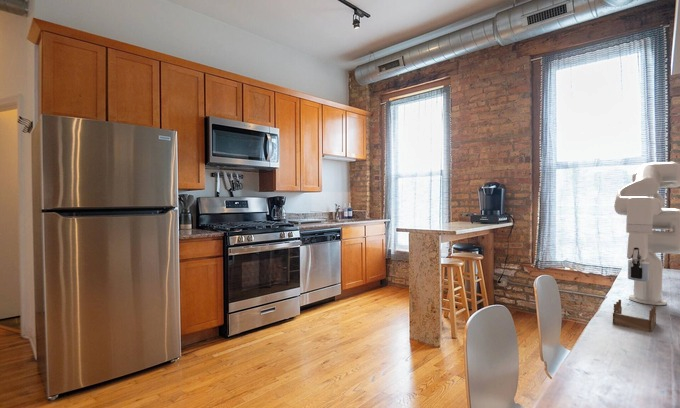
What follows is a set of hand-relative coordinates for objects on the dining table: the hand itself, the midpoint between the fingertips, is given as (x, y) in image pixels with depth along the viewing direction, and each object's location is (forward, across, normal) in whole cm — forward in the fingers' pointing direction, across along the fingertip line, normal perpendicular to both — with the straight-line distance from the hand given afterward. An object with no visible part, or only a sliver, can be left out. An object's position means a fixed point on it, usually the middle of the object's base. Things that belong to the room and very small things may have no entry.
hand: (638, 276), depth 133 cm
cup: (+1, 0, 0) cm, 1 cm away
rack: (+17, +5, 0) cm, 18 cm away
